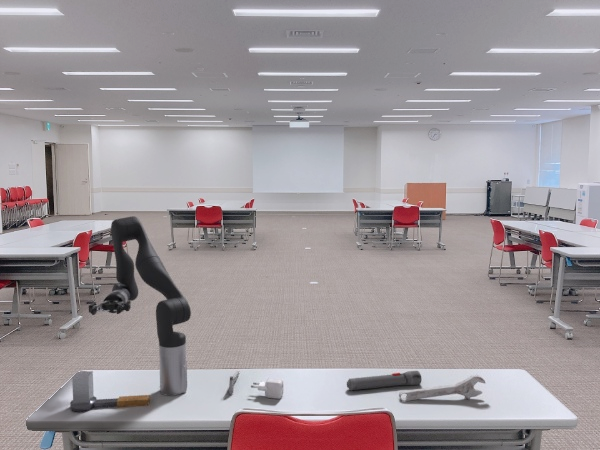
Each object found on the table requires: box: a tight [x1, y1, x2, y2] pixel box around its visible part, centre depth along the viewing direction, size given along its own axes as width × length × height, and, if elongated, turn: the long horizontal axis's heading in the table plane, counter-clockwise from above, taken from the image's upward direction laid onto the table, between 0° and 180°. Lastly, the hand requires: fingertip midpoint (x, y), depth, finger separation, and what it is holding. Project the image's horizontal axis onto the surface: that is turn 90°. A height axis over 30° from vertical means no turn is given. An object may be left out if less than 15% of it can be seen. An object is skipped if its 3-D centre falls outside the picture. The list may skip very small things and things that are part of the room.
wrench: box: [398, 374, 486, 402], centre depth 166 cm, size 8×2×30 cm
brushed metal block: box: [71, 370, 95, 405], centre depth 159 cm, size 5×5×9 cm
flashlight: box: [346, 370, 422, 391], centre depth 176 cm, size 5×28×5 cm, turn 104°
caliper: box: [228, 370, 240, 395], centre depth 179 cm, size 20×1×6 cm, turn 0°
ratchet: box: [69, 394, 151, 413], centre depth 161 cm, size 25×8×6 cm, turn 98°
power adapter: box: [250, 377, 284, 400], centre depth 168 cm, size 11×5×6 cm, turn 76°
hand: (105, 311), depth 173 cm, fingers open, 8 cm apart
